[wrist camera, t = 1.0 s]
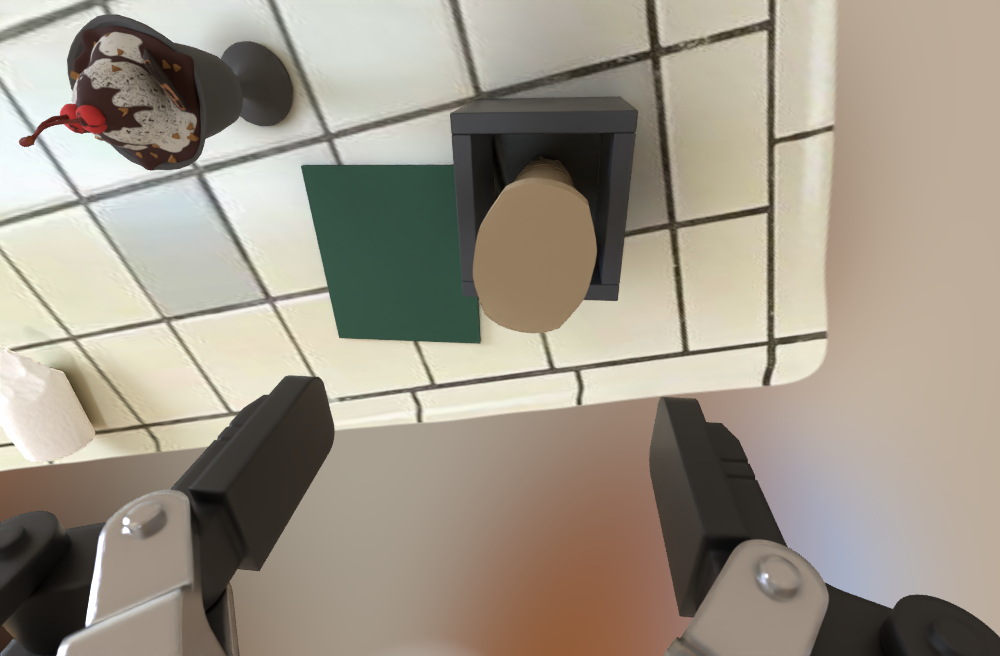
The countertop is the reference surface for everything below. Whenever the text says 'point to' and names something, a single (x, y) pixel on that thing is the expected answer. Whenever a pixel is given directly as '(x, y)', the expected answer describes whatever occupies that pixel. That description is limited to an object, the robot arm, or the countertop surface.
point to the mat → (392, 251)
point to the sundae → (164, 92)
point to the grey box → (546, 117)
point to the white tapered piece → (40, 409)
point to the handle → (535, 250)
